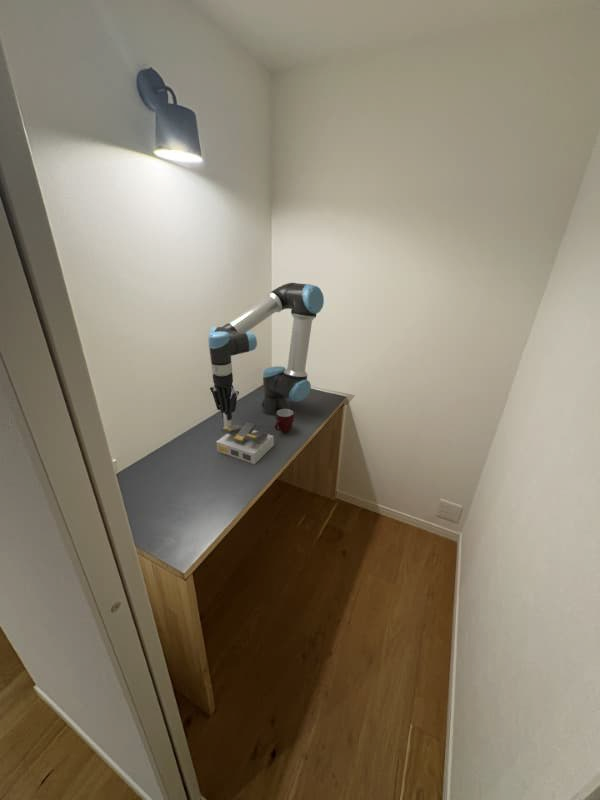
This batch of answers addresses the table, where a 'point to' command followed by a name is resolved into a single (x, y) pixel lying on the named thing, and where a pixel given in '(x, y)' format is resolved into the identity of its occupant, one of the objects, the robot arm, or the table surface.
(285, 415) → the mug
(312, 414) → the table surface
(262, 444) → the switch unit
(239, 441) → the rocker
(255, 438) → the rocker
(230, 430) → the rocker
